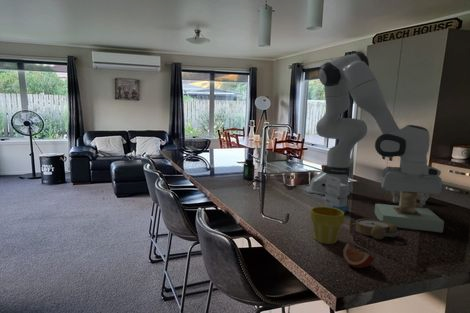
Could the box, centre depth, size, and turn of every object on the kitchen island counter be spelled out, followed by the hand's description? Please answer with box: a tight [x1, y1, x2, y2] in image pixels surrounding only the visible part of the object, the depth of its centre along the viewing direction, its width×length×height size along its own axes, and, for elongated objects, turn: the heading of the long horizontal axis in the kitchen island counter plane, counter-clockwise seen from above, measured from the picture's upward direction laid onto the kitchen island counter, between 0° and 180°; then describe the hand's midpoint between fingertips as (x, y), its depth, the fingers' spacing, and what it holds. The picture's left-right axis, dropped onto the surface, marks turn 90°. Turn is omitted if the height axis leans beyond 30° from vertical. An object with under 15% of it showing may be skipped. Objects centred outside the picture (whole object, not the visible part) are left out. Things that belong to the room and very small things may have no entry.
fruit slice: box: [342, 242, 375, 269], centre depth 84 cm, size 8×7×5 cm
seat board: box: [374, 203, 445, 233], centre depth 120 cm, size 20×16×4 cm
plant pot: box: [310, 206, 345, 245], centre depth 100 cm, size 10×10×10 cm
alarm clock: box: [352, 218, 400, 240], centre depth 107 cm, size 11×5×15 cm
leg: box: [398, 192, 418, 214], centre depth 120 cm, size 5×5×12 cm
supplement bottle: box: [242, 158, 256, 181], centre depth 189 cm, size 7×7×12 cm
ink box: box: [324, 175, 349, 213], centre depth 132 cm, size 8×5×15 cm, turn 26°
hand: (408, 203), depth 120 cm, fingers open, 8 cm apart
